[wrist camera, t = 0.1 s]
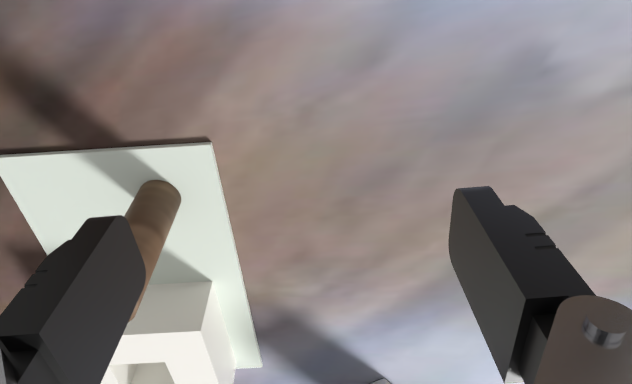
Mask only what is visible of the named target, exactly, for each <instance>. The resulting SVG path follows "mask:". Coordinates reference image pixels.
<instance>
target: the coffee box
mask: <svg viewBox="0 0 632 384" xmlns="http://www.w3.org/2000/svg"><path fill="white" fill-rule="evenodd" d="M370 384H391V383H389V382H388V381H387V380H386V379H385V378H383V379H380V380H378V381H375V382H373V383H370Z"/></svg>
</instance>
